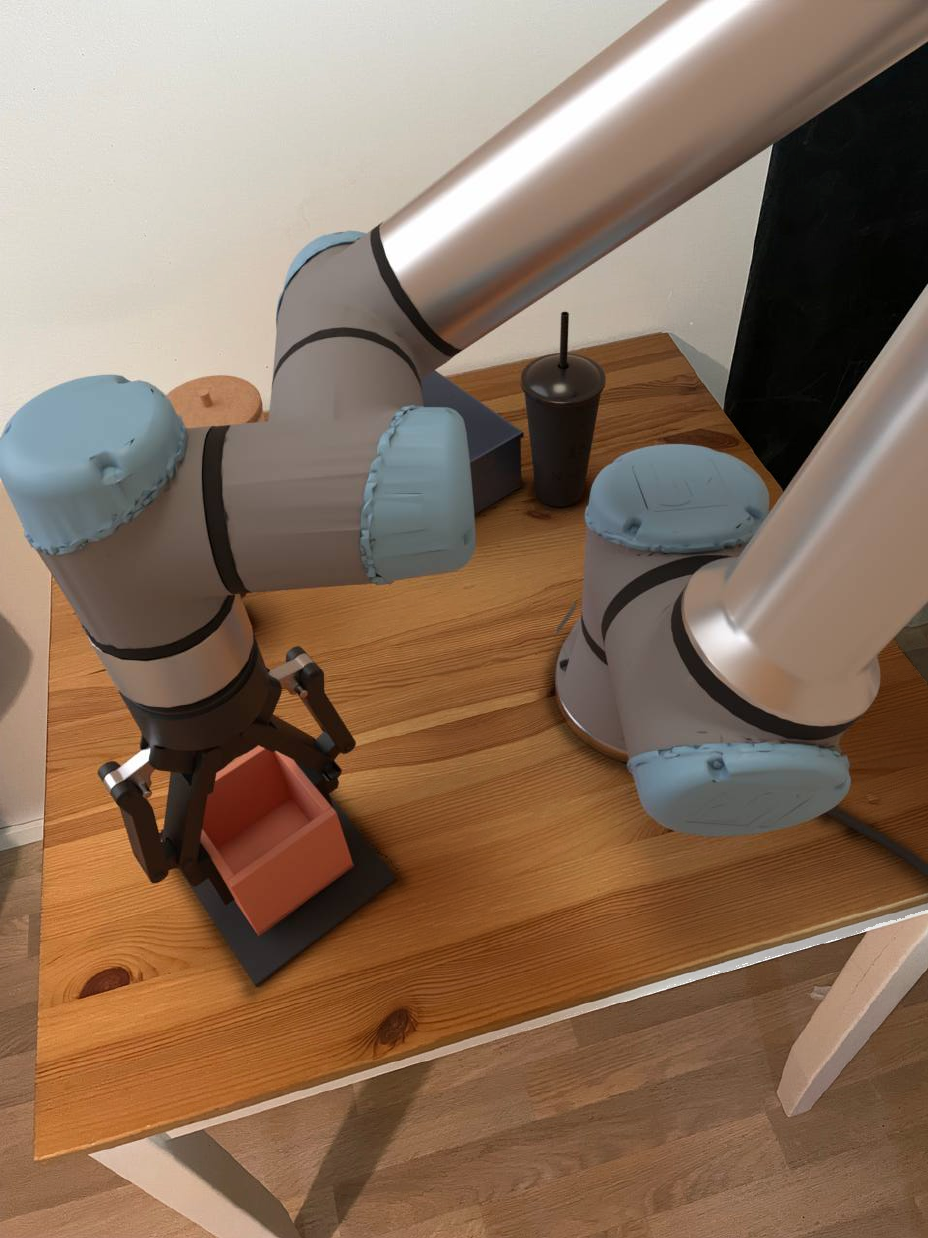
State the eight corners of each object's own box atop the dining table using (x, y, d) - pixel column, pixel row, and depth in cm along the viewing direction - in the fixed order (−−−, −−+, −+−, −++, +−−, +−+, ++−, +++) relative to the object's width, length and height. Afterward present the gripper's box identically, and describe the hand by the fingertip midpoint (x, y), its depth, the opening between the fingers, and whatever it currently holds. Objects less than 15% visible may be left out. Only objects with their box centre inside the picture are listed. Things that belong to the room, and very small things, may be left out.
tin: (524, 486, 94) (523, 431, 89) (412, 554, 89) (404, 500, 84) (437, 422, 102) (432, 368, 97) (329, 481, 97) (318, 427, 91)
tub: (354, 866, 67) (336, 812, 61) (259, 936, 64) (230, 887, 58) (295, 792, 71) (273, 735, 65) (203, 855, 68) (171, 801, 62)
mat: (397, 879, 68) (396, 877, 67) (256, 987, 63) (254, 985, 63) (308, 771, 74) (307, 769, 74) (175, 862, 69) (173, 860, 69)
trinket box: (286, 434, 102) (268, 361, 95) (263, 500, 95) (241, 427, 88) (193, 432, 103) (168, 360, 96) (163, 497, 96) (134, 425, 89)
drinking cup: (505, 491, 94) (501, 314, 78) (558, 456, 97) (563, 279, 82) (560, 528, 90) (566, 350, 75) (613, 490, 93) (629, 311, 78)
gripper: (311, 525, 54) (363, 736, 72) (-34, 718, 47) (117, 903, 64) (385, 596, 51) (421, 801, 68) (22, 820, 43) (167, 987, 60)
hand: (273, 850), depth 66 cm, fingers closed on tub, 8 cm apart
